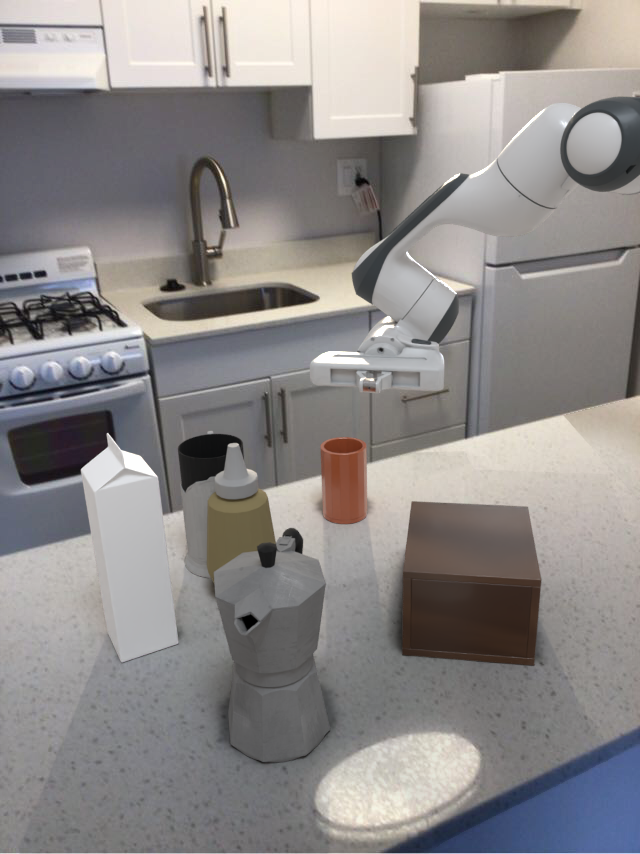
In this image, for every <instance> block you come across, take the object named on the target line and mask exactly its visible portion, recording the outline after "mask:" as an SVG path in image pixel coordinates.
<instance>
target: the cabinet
mask: <svg viewBox="0 0 640 854" xmlns="http://www.w3.org/2000/svg"><path fill="white" fill-rule="evenodd" d="M406 534H407V535H406V542H405V550H404V560H403V567H402V621H401V622H402V624H401V625H402V627H401V628H402V630H401V631H402V633H401V635H402V637H401V638H402V642H401V644H402V646H401V647H402V648H401V649H402V650H401V654H402V656H408V657H420V658H421V657H422V658H433V659H435V658H436V659H444V660H445V659H446V660H457V661H472V662H482V663H483V662H484V663H486V662H487V663H494V664H495V663H496V664H497V663H498V664H509V665H510V664H511V665H521V666H522V665H523V666H533V667H534V666H535V661H536V651H537V650H536V649H537V637H538V626H539V613H540V602H541V590H542V589H541V588H542V576H541V571H540V564H539V559H538V553H537V547H536V544H535V538H534V532H533V527H532V521H531V515H530V509H529V506H526V505H525V506H523V505H507V504H506V505H502V504H481V503H480V504H479V503H461V502H460V503H458V502H440V501H439V502H438V501H437V502H436V501H417V500H412V501H411V504H410V512H409V519H408V528H407V533H406Z"/></svg>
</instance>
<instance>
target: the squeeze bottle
mask: <svg viewBox="0 0 640 854" xmlns="http://www.w3.org/2000/svg"><path fill="white" fill-rule="evenodd" d="M214 482H215V491H216V492H214V493H213V494H212V495H211V496H210V498H209V499H208V509H207V569H208V573H209V575H210V577H211V578H210V580H212V583H213V584H214V572H215V571H216V570H218V569H219V568H221V567H222V566H224V565H225V564H227V563H228V562H230V561H231V560H233V559H234V558H236V557H237V556H239V555H240V554H242V553H245V552H254V551H258V550H257V546H258V545H260V544H261V543H267V542H271V543H274V544H276V542H277V541H276V535H275V530H274V525H273V519H272V518H273V517H272V513H271V507H270V502H269V496H268V494H267V492H266V491H264V490H263V489H261V488H259V487H260V485H259V475H258V473H257V472H256V471H254V470H252V469H250V468H247V466H246V463H245V458H244V459H243V456H242V453H241V450H240V446H239V444H238V443H231V444H229V445H228V448H227V455H226V461H225V468H224V471H222V472H220V473H219V474H217V475H216V477H215V478H214Z"/></svg>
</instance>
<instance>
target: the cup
mask: <svg viewBox="0 0 640 854" xmlns="http://www.w3.org/2000/svg"><path fill="white" fill-rule="evenodd" d="M319 446H320V448H319V449H320V472H321V473H320V474H321V499H322V516H323V518H324V519H325V520H326V521H328V522H330V523H334V524H339V525H350V524H355V523H358V522H359V523H360V522H361V521H363V520H364V519H365V518H366V517H367V516H368V469H367V468H368V459H367V457H368V453H367V447H368V446H367V443H366V442H365V441H364V440H363V439H359V438H357V437H349V436H338V437H337V436H336V437H331V438H329V439H325V440H324V441H323V442H322V443H321V444H320V445H319Z"/></svg>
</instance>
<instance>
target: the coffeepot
mask: <svg viewBox="0 0 640 854" xmlns="http://www.w3.org/2000/svg"><path fill="white" fill-rule="evenodd" d="M281 535H282V536H279V537H278V539H277V541H276V544H274V543H271V542H267V543H261V544H260V545H258V546H257V550H258V551H254V552H245V553H242V554H240V555H239V556H237V557H236V558H234V559H233V560H231V561H230V562H228V563H227V564H225V565H224V566H222V567H221V568H219V569H218V570H216V571H215V572H214V583H213V585H214V596H215V602H216V605H217V609H218V613H219V616H220V620H221V623H222V628H223V631H224V635H225V639H226V642H227V646H228V649H229V653H230V657H231V660H232V661H233V664H232V665H233V666H232V674H231V683H230V693H229V694H230V695H229V703H228V713H227V717H228V730H229V731H228V732H229V743H230V745H231V746H232V747H234V748H235V749H237V750H238V751H239V752H240V753H242V754H244V755H245V756H246V757H248V758H251V759H253V760H256V761H260V762H262V763H284V762H288V761H293V760H296V759H299V758H301V757H305V756H307V755H308V754H310V753H311V752H312V751H313V750H315V749H316V748H317V747H318V746H319V745H320V743H321V742H322V741H323V740H324V737H326V734H328V732H329V731H331V726H330V721H329V717H328V713H327V709H326V704H325V700H324V695H323V691H322V690H323V689H322V687H321V681H320V678H319V674H318V668H317V665H316V660H315V656H314V653H315V652H316V651H317V650H318V647H319V638H320V630H321V623H322V617H323V616H322V615H323V608H324V601H325V595H326V594H325V593H326V586H327V582H326V579H325V575H324V573H323V569H322V566H321V564H320V560H319V559H318V558H314V557H312V556H308V555H306V554H303V552H304V551H303V550H304V538H303V536H302V534H301V533H300V531H299V530H298V529H296V528H295V527H289V528H287V529H284V531H283V533H282V534H281Z"/></svg>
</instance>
